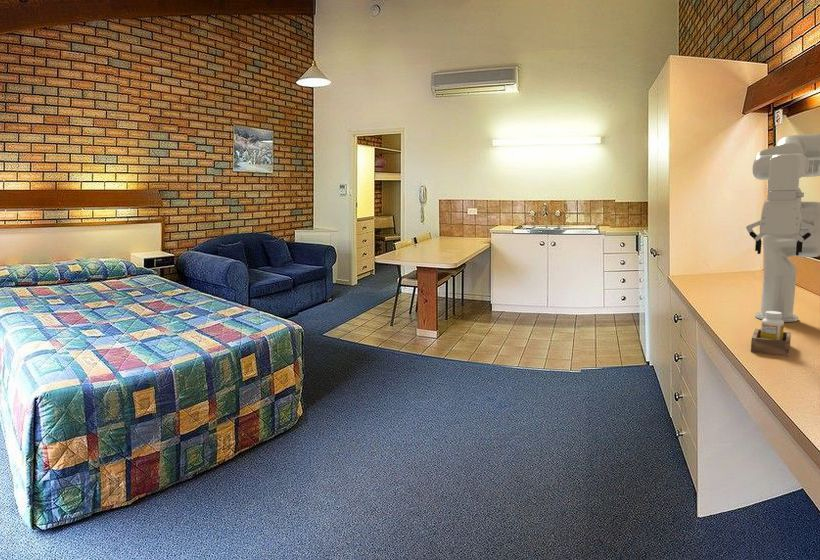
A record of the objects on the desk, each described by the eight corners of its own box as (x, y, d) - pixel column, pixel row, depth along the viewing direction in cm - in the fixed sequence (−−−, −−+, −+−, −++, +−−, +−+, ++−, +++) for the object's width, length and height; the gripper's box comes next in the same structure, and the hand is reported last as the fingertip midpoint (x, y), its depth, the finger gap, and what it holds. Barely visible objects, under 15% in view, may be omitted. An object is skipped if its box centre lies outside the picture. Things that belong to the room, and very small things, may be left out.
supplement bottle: (773, 342, 163) (776, 310, 162) (786, 347, 158) (789, 314, 157) (755, 342, 163) (758, 310, 162) (768, 348, 158) (770, 314, 156)
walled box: (754, 341, 168) (755, 328, 168) (790, 345, 163) (791, 332, 162) (750, 351, 159) (751, 337, 158) (788, 356, 153) (789, 342, 153)
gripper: (818, 195, 162) (813, 254, 165) (749, 196, 172) (745, 251, 175) (818, 196, 156) (813, 257, 159) (747, 197, 166) (743, 254, 169)
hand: (777, 254), depth 167 cm, fingers open, 9 cm apart
